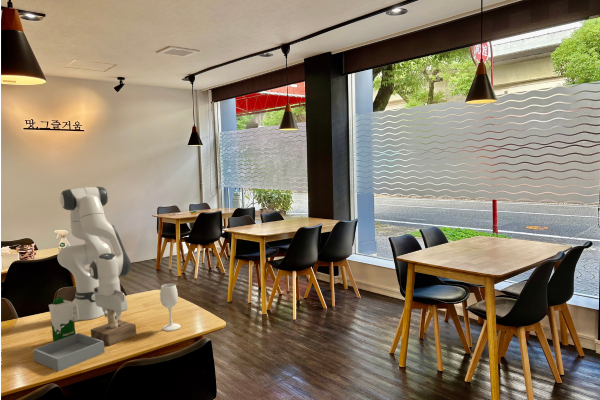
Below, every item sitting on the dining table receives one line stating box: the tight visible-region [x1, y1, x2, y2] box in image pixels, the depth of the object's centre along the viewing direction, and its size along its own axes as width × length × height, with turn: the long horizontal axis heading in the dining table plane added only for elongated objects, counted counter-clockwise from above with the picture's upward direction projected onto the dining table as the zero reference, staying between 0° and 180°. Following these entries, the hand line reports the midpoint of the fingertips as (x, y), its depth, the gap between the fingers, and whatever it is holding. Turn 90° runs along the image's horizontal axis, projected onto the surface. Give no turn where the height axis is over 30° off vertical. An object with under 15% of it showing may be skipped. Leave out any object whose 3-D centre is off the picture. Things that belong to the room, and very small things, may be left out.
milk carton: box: [48, 296, 77, 342], centre depth 203 cm, size 9×9×20 cm
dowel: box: [107, 309, 118, 330], centre depth 206 cm, size 4×4×14 cm
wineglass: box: [159, 283, 182, 332], centre depth 214 cm, size 9×9×21 cm
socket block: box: [90, 319, 137, 346], centre depth 206 cm, size 14×14×5 cm
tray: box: [32, 332, 105, 372], centre depth 187 cm, size 20×20×5 cm
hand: (112, 318), depth 205 cm, fingers open, 7 cm apart
